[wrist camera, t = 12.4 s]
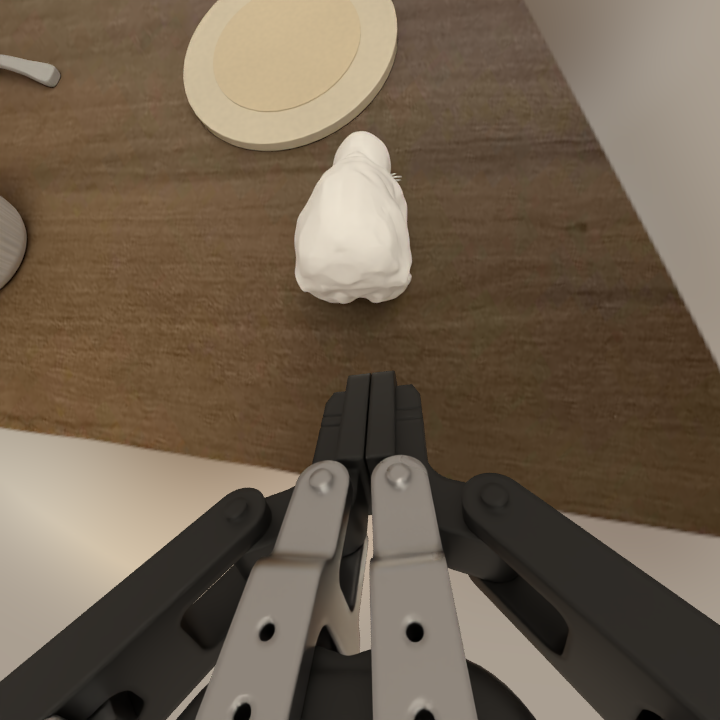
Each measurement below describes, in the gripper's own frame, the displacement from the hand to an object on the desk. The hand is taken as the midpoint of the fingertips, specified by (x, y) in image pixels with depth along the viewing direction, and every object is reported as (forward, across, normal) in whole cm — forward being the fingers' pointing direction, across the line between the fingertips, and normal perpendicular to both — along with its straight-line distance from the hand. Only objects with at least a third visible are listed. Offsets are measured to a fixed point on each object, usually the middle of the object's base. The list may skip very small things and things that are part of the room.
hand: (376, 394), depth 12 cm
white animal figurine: (+16, +1, 0) cm, 17 cm away
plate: (+29, +6, -13) cm, 33 cm away
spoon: (+33, +34, -18) cm, 51 cm away
